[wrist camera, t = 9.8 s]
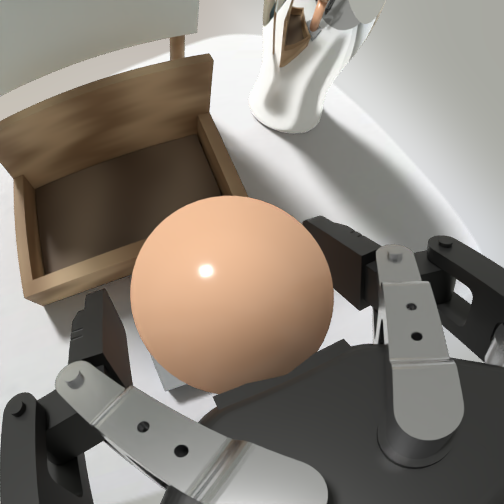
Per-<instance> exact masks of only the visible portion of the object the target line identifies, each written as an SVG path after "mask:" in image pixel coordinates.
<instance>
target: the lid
mask: <svg viewBox="0 0 504 504" xmlns="http://www.w3.org/2000/svg"><path fill="white" fill-rule="evenodd" d="M198 10H199V0H0V96H2V95H4V94H6V93H8V92H10V91H12V90H14V89H16V88H18V87H20V86H22V85H25V84H26V83H29V82H31V81H33V80H36V79H38V78H40V77H42V76H45V75H47V74H50V73H52V72H55V71H57V70H60V69H62V68H65V67H68V66H70V65H73V64H76V63H78V62H81V61H84V60H87V59H90V58H93V57H96V56H99V55H103V54H106V53H109V52H112V51H116V50H120V49H123V48H127V47H131V46H134V45H139V44H143V43H147V42H152V41H156V40H161V39H166V38H171V37H176V36H182V35H187V34H193V33H197V26H198Z"/></svg>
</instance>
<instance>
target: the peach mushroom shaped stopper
mask: <svg viewBox="0 0 504 504" xmlns="http://www.w3.org/2000/svg"><path fill="white" fill-rule="evenodd" d="M130 300H131V308H132V314H133V318H134V321H135V325H136V328H137V330H138V332H139V335H140V337H141V339H142V341H143V343H144V344H145V346H146V348H147V349H148V351H149V352H150V353H151V355H152V356H153V357H154V358H155V360H156V361H157V362H158V363H159V364H160V365H161V366H162V367H163V368H164V369H165V370H167V371H168V372H169V373H170V374H172V375H173V376H175V377H176V378H177V379H179V380H181V381H182V382H184V383H186V384H188V385H190V386H192V387H195V388H198V389H200V390H203V391H206V392H211V393H216V394H221V393H224V392H226V391H229V390H231V389H234V388H236V387H239V386H241V385H244V384H246V383H251V382H256V381H261V380H265V379H270V378H275V377H279V376H283V375H286V374H288V373H290V372H291V371H292V370H294V369H295V368H296V367H297V366H299V365H300V364H301V363H303V362H304V361H305V360H306V359H308V358H309V357H310V356H312V355H313V354H314V353H316V352H317V351H318V350H319V348H320V346H321V344H322V343H323V341H324V339H325V336H326V334H327V331H328V329H329V326H330V322H331V318H332V312H333V304H334V290H333V283H332V277H331V273H330V269H329V266H328V263H327V261H326V258H325V256H324V254H323V252H322V250H321V248H320V247H319V245H318V243H317V242H316V240H315V239H314V238H313V236H312V235H311V234H310V233H309V231H308V230H307V229H306V228H305V227H304V226H303V225H302V224H301V223H300V222H298V221H297V220H296V219H295V218H294V217H292V216H291V215H289V214H288V213H286V212H285V211H283V210H282V209H280V208H278V207H276V206H274V205H272V204H269V203H267V202H264V201H261V200H257V199H253V198H249V197H242V196H218V197H211V198H207V199H203V200H199V201H196V202H193V203H191V204H188V205H186V206H184V207H182V208H181V209H179V210H177V211H175V212H174V213H172V214H171V215H170V216H168V217H167V218H166V219H165V220H163V221H162V222H161V223H160V224H159V225H158V226H157V227H156V228H155V229H154V231H153V232H152V233H151V234H150V235H149V237H148V238H147V240H146V241H145V243H144V245H143V246H142V248H141V250H140V252H139V255H138V257H137V259H136V262H135V266H134V269H133V273H132V279H131V289H130Z"/></svg>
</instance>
